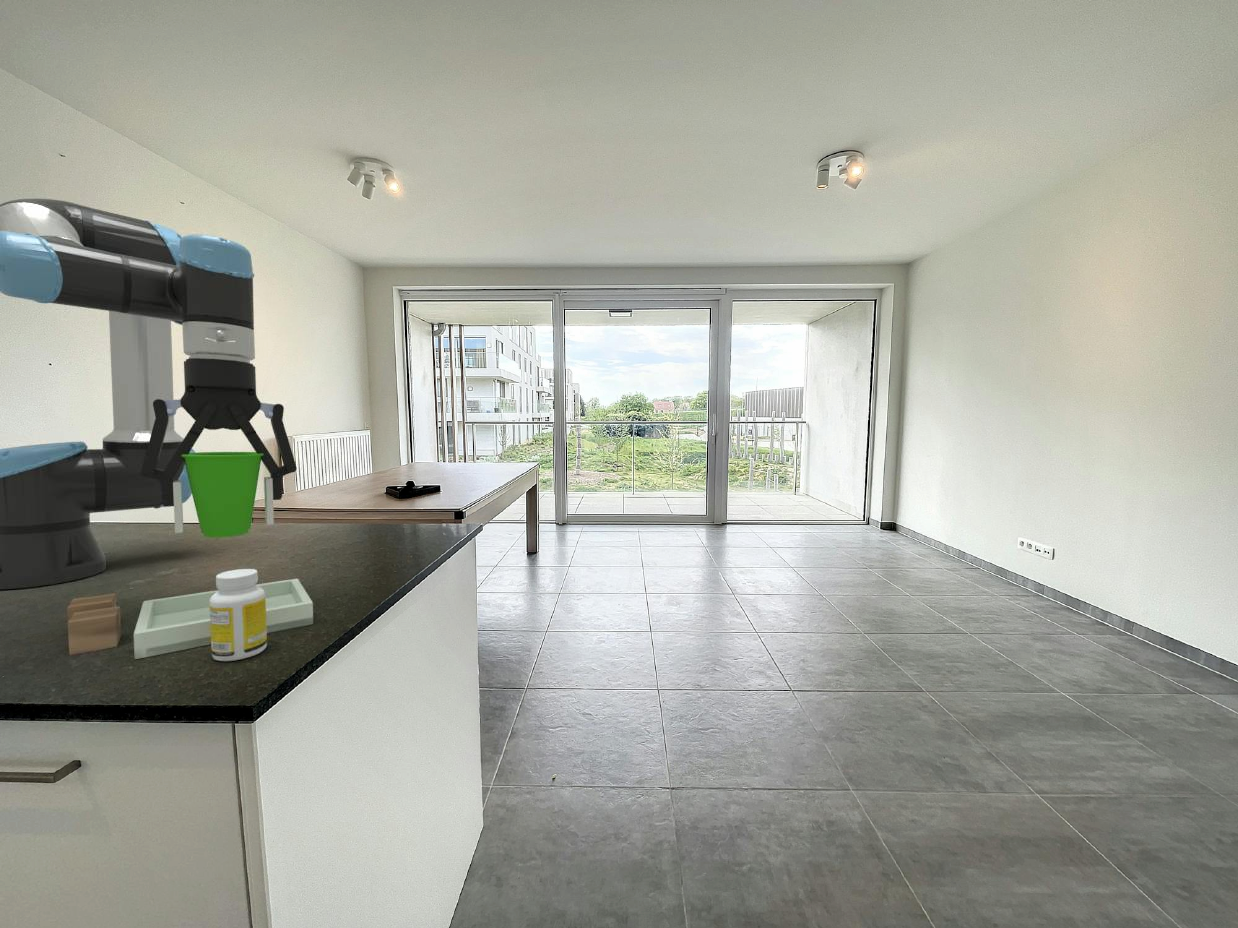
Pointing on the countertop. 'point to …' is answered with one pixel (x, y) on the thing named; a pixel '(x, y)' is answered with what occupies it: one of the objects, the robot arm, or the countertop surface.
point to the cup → (223, 490)
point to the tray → (189, 618)
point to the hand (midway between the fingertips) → (226, 526)
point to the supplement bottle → (237, 616)
